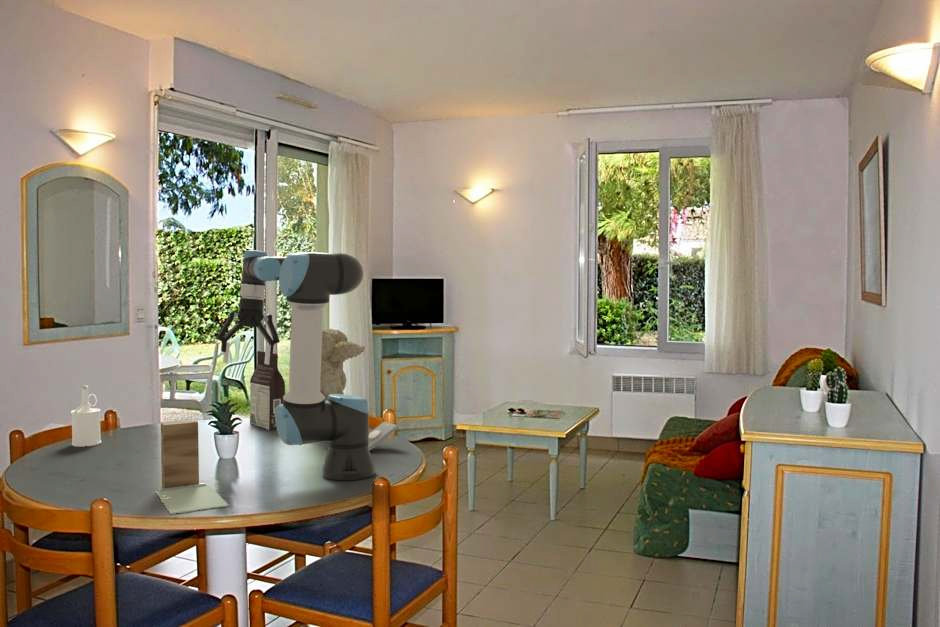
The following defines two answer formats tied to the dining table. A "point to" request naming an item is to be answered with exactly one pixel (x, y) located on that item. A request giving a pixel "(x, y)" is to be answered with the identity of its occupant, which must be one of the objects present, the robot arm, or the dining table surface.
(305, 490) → the dining table surface
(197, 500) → the mat
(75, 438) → the white handled jug
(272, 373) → the protein powder
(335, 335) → the sculpture
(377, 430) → the light switch
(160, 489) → the stop
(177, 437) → the block
